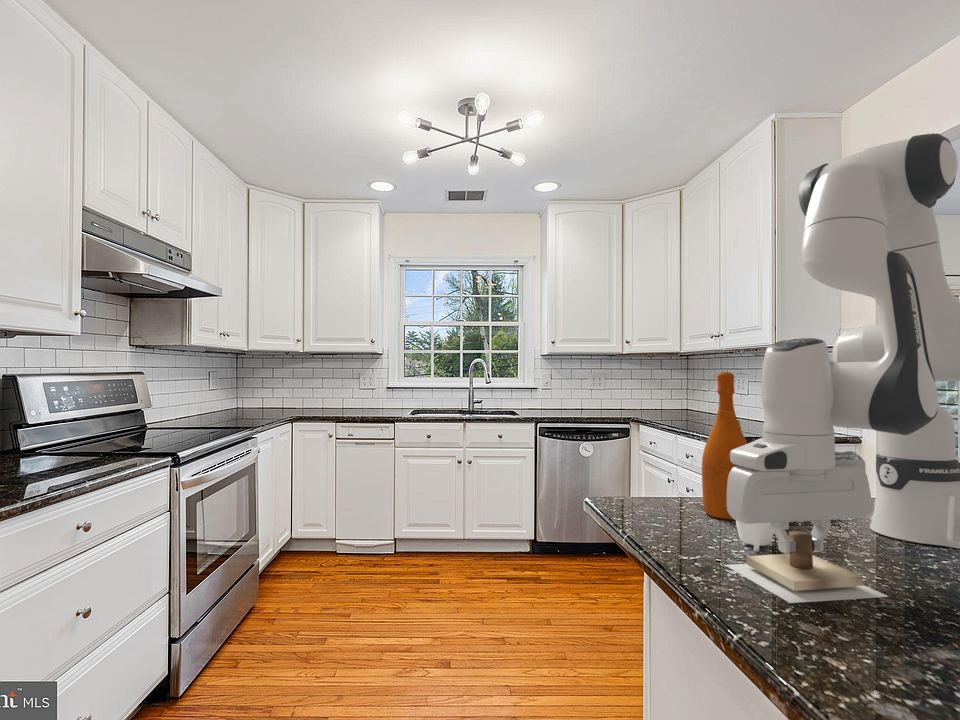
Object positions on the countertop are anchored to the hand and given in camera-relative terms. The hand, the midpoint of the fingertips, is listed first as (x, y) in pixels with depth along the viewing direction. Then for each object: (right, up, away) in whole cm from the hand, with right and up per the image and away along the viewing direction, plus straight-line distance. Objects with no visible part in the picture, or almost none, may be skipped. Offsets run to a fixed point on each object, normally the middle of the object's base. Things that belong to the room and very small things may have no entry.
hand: (800, 551), depth 76 cm
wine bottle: (+7, -6, +37) cm, 38 cm away
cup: (+1, -5, +14) cm, 15 cm away
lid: (0, -3, 0) cm, 3 cm away
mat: (0, -4, 0) cm, 4 cm away
